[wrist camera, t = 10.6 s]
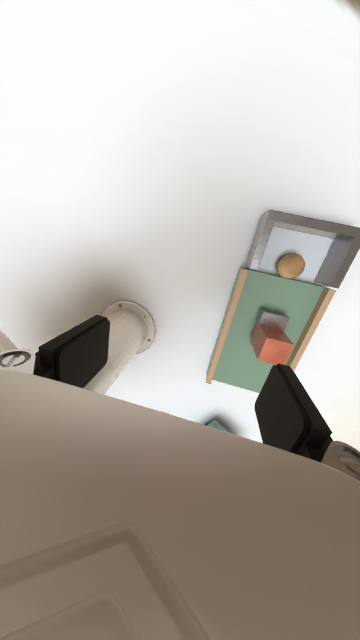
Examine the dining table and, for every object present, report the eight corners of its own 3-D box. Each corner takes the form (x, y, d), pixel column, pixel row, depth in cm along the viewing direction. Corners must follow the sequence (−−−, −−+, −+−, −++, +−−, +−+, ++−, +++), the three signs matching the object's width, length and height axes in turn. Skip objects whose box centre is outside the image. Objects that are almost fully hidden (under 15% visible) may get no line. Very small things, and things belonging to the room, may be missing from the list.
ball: (281, 281, 35) (289, 285, 31) (269, 263, 34) (276, 264, 30) (303, 267, 33) (314, 269, 30) (291, 248, 33) (301, 248, 29)
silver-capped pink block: (269, 348, 37) (282, 372, 30) (246, 342, 38) (254, 364, 30) (284, 313, 35) (303, 330, 27) (260, 307, 35) (271, 322, 28)
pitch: (272, 391, 43) (277, 402, 40) (206, 372, 44) (206, 382, 41) (324, 286, 34) (336, 290, 31) (240, 267, 35) (242, 269, 32)
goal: (321, 282, 34) (338, 288, 29) (245, 265, 35) (249, 268, 30) (346, 232, 31) (369, 229, 26) (261, 215, 32) (269, 209, 27)
